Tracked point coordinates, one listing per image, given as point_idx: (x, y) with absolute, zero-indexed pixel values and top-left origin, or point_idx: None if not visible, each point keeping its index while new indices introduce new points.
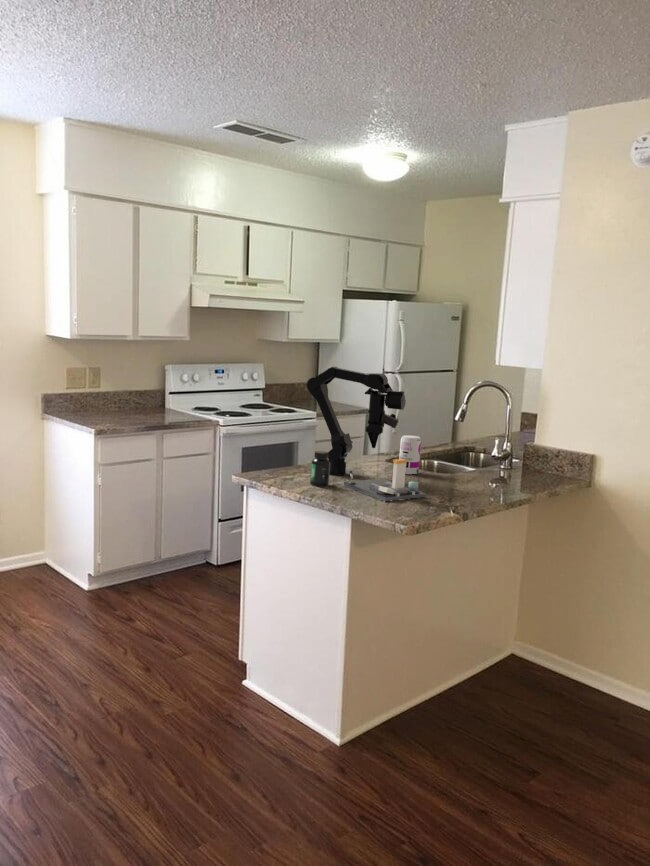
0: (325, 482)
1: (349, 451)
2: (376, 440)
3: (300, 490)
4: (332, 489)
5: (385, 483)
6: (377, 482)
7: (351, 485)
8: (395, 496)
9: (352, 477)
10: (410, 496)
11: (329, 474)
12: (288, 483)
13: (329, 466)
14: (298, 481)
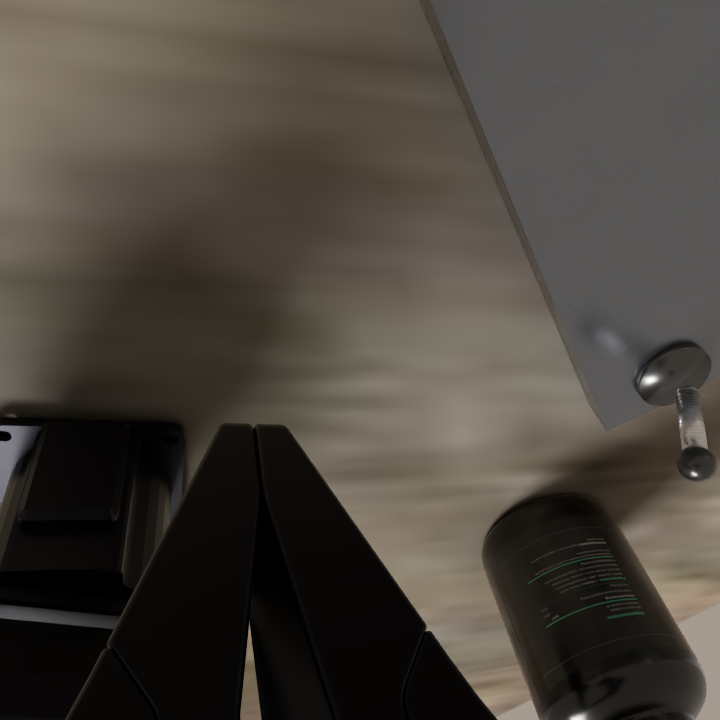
0: (620, 530)
1: (28, 639)
2: (420, 634)
3: (674, 587)
4: None
5: None
6: (674, 117)
7: (716, 373)
8: None
9: (702, 412)
10: None
11: (614, 564)
12: (508, 646)
13: (666, 632)
14: (454, 623)
